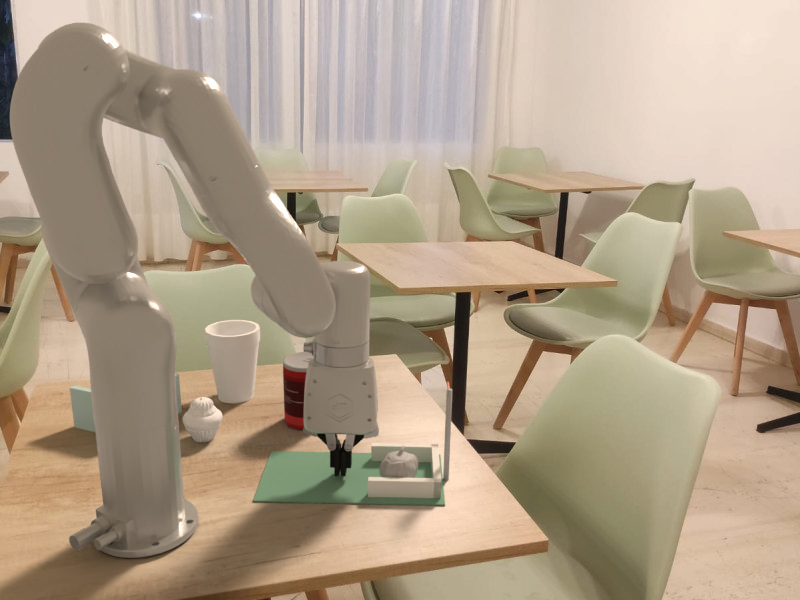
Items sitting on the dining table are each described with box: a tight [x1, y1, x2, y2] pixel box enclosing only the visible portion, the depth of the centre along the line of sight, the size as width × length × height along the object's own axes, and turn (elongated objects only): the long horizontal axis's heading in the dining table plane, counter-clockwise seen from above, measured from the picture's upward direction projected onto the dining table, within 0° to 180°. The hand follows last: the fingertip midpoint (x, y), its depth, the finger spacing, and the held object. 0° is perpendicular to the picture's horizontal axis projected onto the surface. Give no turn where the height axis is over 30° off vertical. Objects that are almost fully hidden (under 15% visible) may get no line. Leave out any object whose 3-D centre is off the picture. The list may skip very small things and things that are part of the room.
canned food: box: [282, 351, 313, 431], centre depth 122 cm, size 8×8×11 cm
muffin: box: [182, 396, 224, 443], centre depth 116 cm, size 6×6×7 cm
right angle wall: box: [69, 372, 183, 433], centre depth 122 cm, size 12×12×8 cm
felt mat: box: [252, 450, 446, 507], centre depth 106 cm, size 26×14×1 cm, turn 90°
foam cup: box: [204, 319, 261, 404], centre depth 131 cm, size 10×9×13 cm
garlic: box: [379, 445, 418, 478], centre depth 104 cm, size 6×5×5 cm
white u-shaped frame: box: [368, 381, 453, 498], centre depth 104 cm, size 11×11×14 cm
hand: (340, 471), depth 106 cm, fingers closed
